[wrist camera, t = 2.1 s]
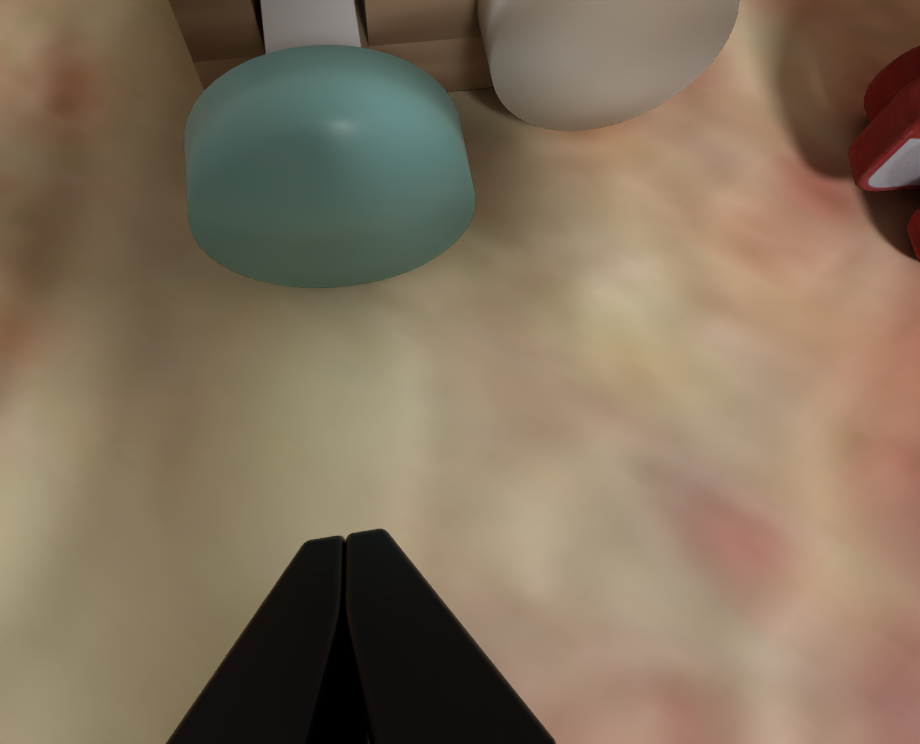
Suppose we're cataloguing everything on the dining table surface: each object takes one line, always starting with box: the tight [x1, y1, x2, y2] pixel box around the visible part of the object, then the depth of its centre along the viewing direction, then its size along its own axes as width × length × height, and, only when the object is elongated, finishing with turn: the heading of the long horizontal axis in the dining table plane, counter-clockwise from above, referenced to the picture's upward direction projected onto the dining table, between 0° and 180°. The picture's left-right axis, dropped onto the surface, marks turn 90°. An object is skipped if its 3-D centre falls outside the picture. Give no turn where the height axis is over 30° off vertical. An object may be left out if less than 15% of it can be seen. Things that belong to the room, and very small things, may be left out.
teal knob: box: [184, 0, 476, 288], centre depth 21 cm, size 13×8×8 cm, turn 10°
